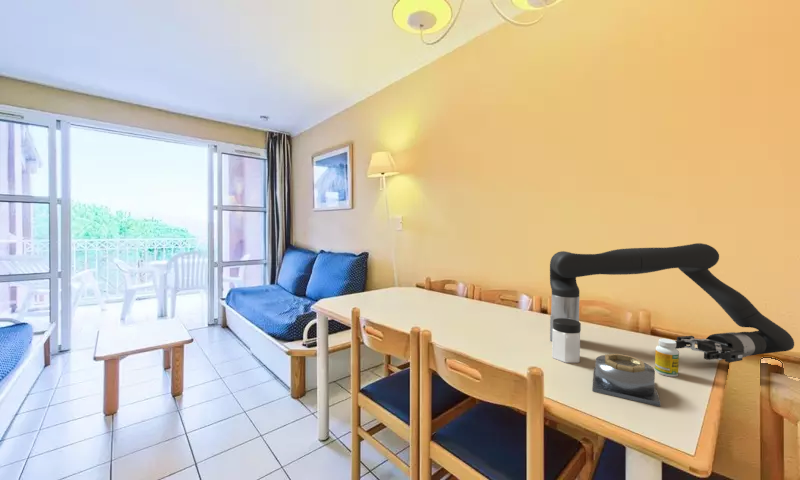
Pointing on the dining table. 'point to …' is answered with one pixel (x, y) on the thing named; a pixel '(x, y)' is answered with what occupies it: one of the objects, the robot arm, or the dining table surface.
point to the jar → (566, 340)
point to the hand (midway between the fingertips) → (689, 350)
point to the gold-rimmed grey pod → (625, 378)
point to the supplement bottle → (667, 358)
